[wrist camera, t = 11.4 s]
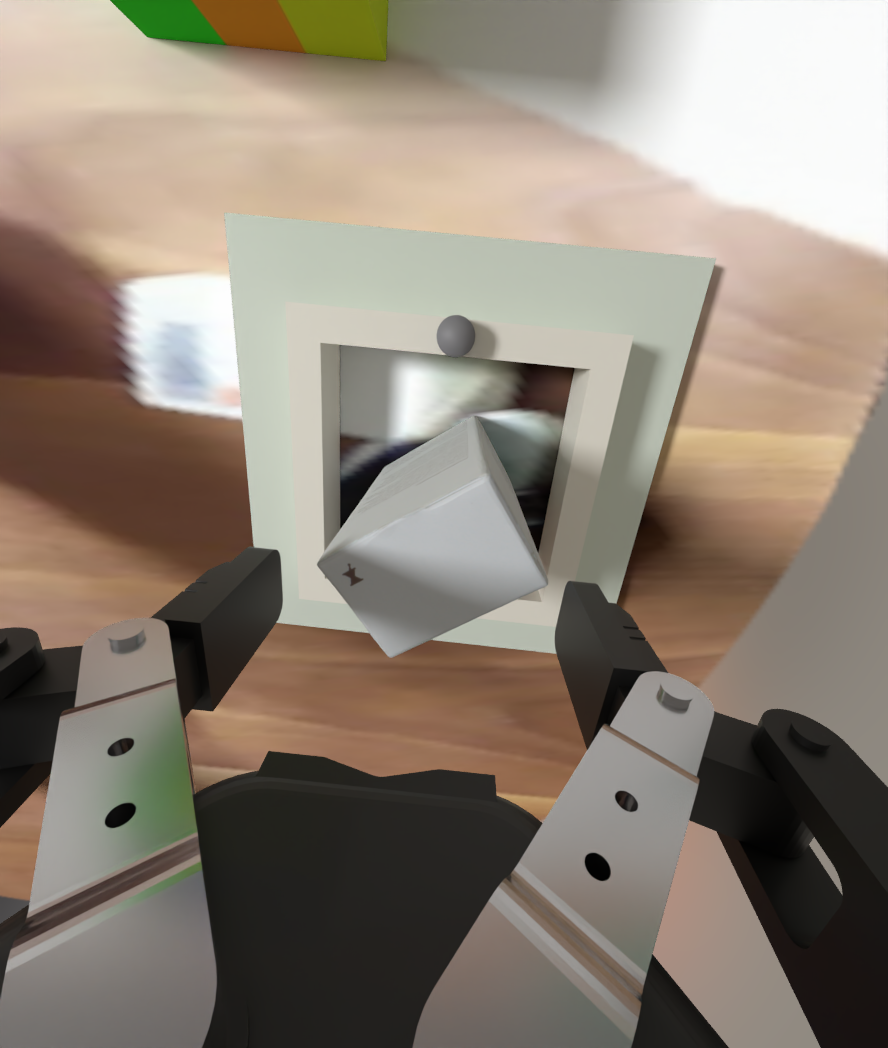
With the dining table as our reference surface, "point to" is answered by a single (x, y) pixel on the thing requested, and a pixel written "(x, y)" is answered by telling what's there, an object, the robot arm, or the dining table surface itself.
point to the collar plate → (476, 297)
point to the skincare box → (434, 542)
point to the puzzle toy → (269, 24)
